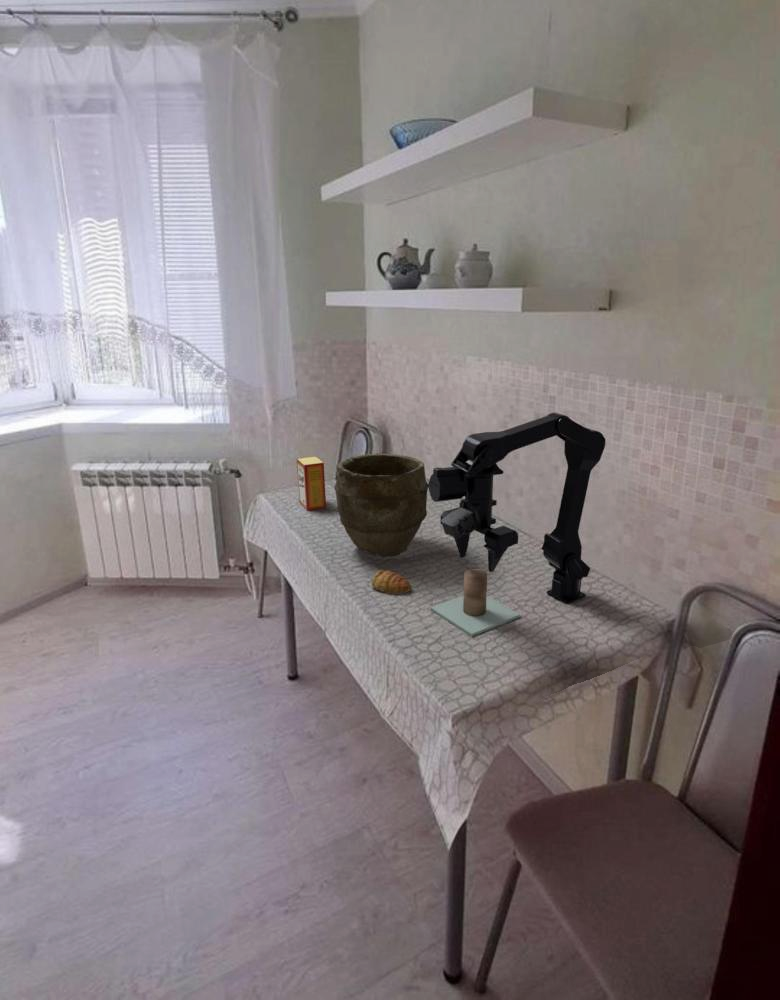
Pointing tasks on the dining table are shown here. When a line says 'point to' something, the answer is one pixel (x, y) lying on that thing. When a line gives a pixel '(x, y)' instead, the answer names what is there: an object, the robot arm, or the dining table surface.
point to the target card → (474, 624)
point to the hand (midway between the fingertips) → (476, 564)
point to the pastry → (390, 582)
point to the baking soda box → (311, 483)
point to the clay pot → (381, 501)
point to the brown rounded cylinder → (475, 592)
